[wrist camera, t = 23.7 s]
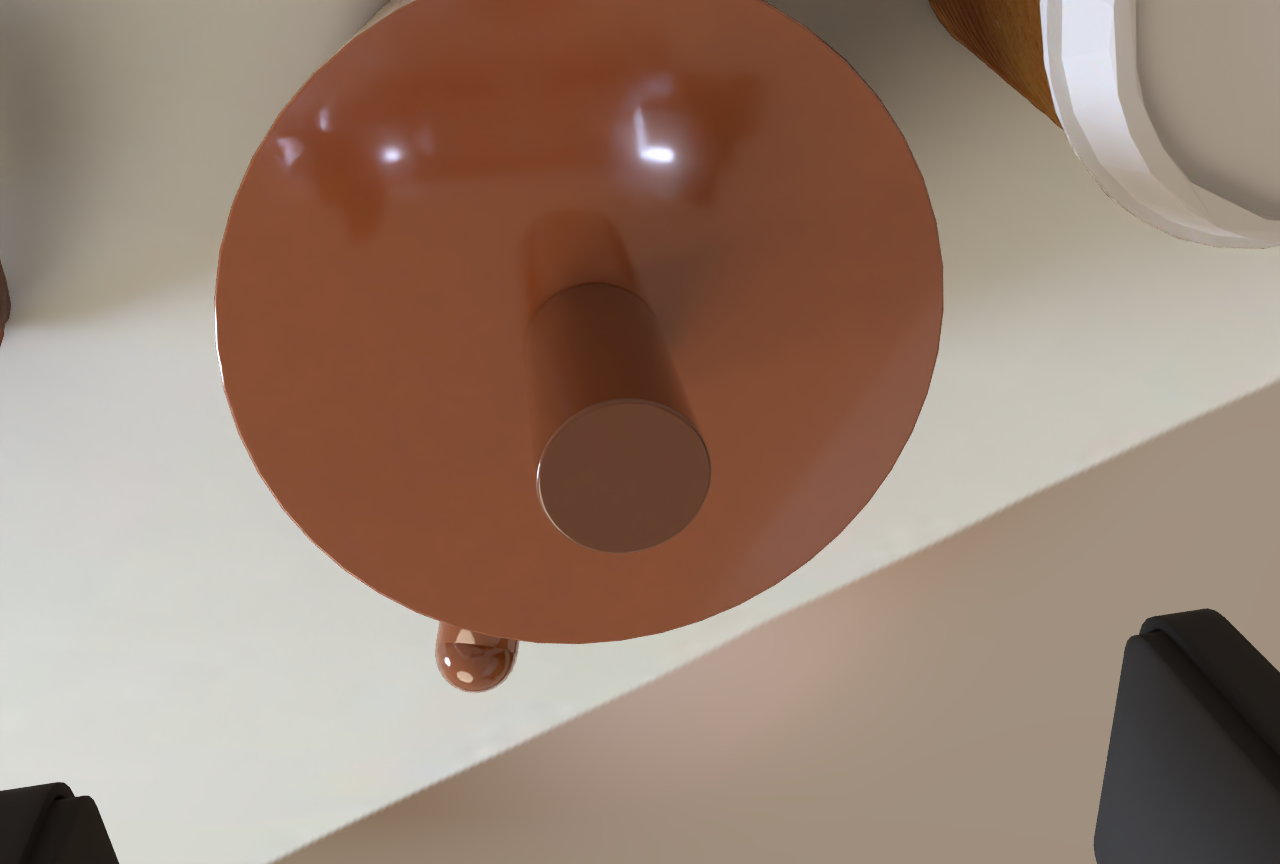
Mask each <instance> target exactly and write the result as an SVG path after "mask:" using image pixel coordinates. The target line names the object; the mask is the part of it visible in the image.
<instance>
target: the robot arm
mask: <svg viewBox="0 0 1280 864" xmlns="http://www.w3.org/2000/svg"><path fill="white" fill-rule="evenodd" d="M1094 851H1095V857H1096V861H1097V864H1280V672H1279V671H1278V670H1277V669H1275V668H1274V667H1273V665H1272V664H1271V663H1270V662H1269V661H1268V660H1267V659H1266V658H1265V657H1264V656H1263V655H1261V653H1260V652H1259V651H1258V650H1256V648H1255V647H1254V646H1253V645H1251V643H1250V642H1249V641H1248V640H1247V639H1245V637H1244V636H1243V635H1242V634H1240V632H1239V631H1238V630H1237V629H1236V628H1235V627H1234V626H1233V625H1232V624H1231V623H1230V622H1229V621H1228V620H1226V618H1225V617H1223V616H1222V615H1221V614H1219V613H1218V612H1216V611H1215V610H1211V609H1200V610H1194V611H1187V612H1181V613H1174V614H1167V615H1161V616H1154V617H1151V618H1148V619H1146V621H1145V622H1144V623H1143V624H1142V627H1141V630H1140V633H1139V635H1135V636H1132V637H1130V638H1129V640H1128V641H1127V643H1126V647H1125V651H1124V658H1123V664H1122V670H1121V676H1120V682H1119V688H1118V695H1117V701H1116V707H1115V713H1114V719H1113V725H1112V731H1111V737H1110V744H1109V750H1108V756H1107V762H1106V768H1105V775H1104V780H1103V787H1102V793H1101V799H1100V805H1099V812H1098V817H1097V824H1096V830H1095V836H1094ZM0 864H119V862H118V860H117V857H116V854H115V852H114V849H113V847H112V844H111V841H110V839H109V836H108V834H107V831H106V829H105V826H104V823H103V821H102V818H101V816H100V813H99V810H98V808H97V806H96V804H95V802H94V800H93V799H92V798H91V797H90V796H80V797H75V796H74V794H73V792H72V790H71V789H70V787H69V786H67V785H66V784H65V783H61V782H56V783H50V784H43V785H37V786H30V787H23V788H17V789H10V790H4V791H0Z"/></svg>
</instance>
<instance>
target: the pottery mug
mask: <svg viewBox="0 0 1280 864" xmlns="http://www.w3.org/2000/svg"><path fill="white" fill-rule="evenodd" d="M10 309H11V302H10V297H9V291H8V287H7V282H6V277H5V275H4V271H3V268H2V264H1V260H0V346H1V343H2V340H3V337H4V328H5V323H6V322H7V321H8V319H9V315H10Z"/></svg>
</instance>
